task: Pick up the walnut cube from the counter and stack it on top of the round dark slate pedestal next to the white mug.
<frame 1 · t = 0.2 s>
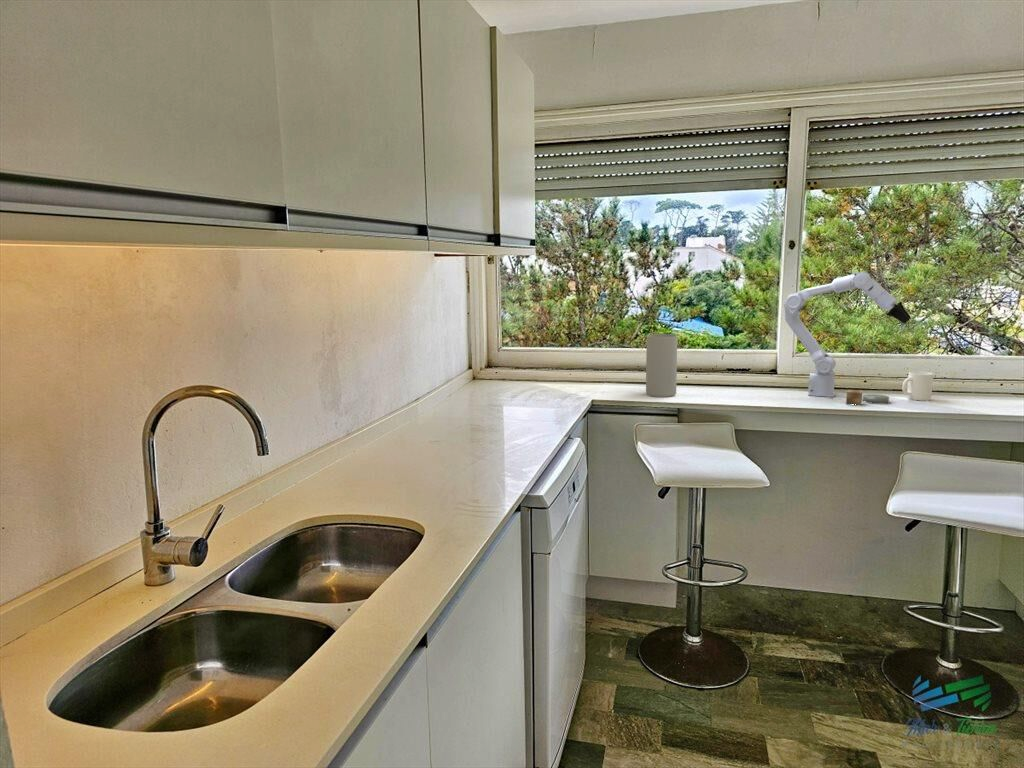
hand: (908, 320, 257), 31 cm above the worktop, tool tilted 45°, fingers open, 7 cm apart
slate pedestal: (875, 401, 262), on the worktop
walnut cube: (853, 404, 259), on the worktop
mug: (914, 399, 265), on the worktop
cylinder vase: (660, 395, 285), on the worktop
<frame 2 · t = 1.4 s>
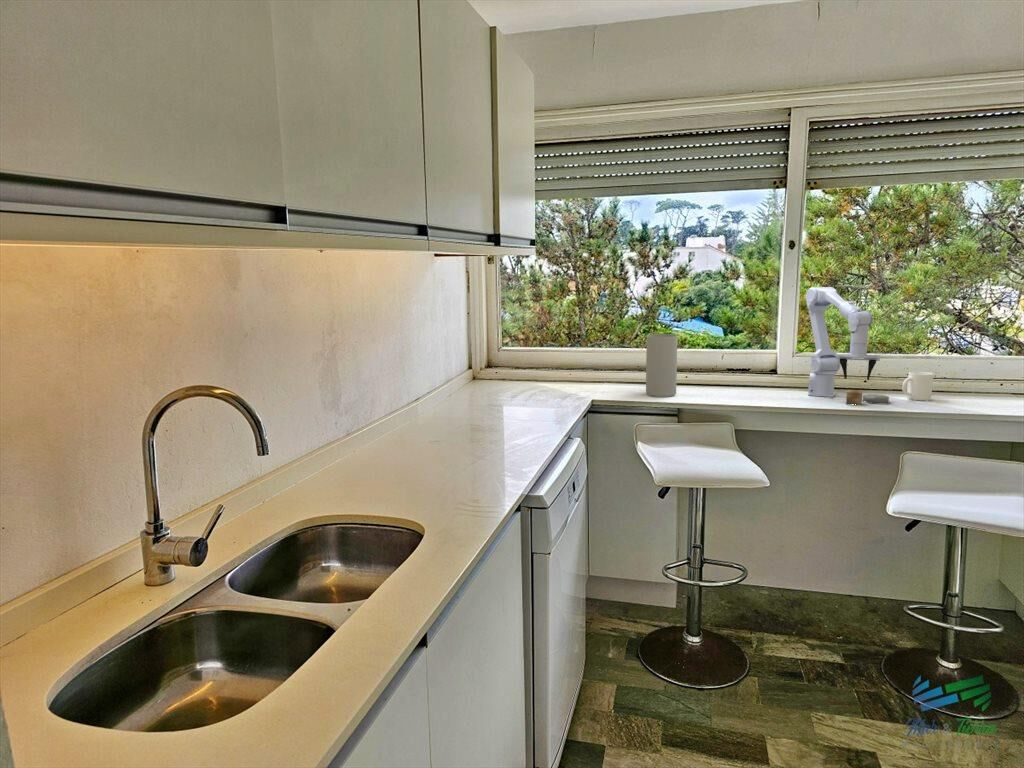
hand: (856, 379, 257), 10 cm above the worktop, tool pointing down, fingers open, 7 cm apart
nothing on the worktop moved.
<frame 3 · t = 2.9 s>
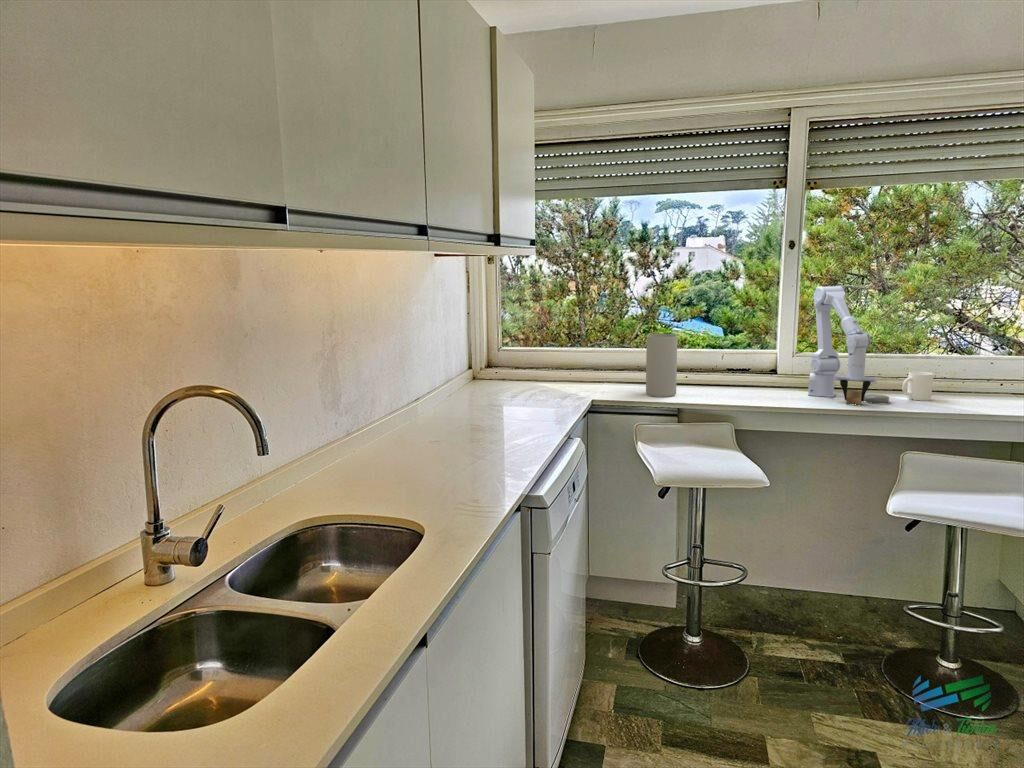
hand: (854, 400, 259), 1 cm above the worktop, tool pointing down, fingers closed on walnut cube, 5 cm apart
walnut cube: (853, 403, 259), on the worktop, touching gripper
everything else where it was.
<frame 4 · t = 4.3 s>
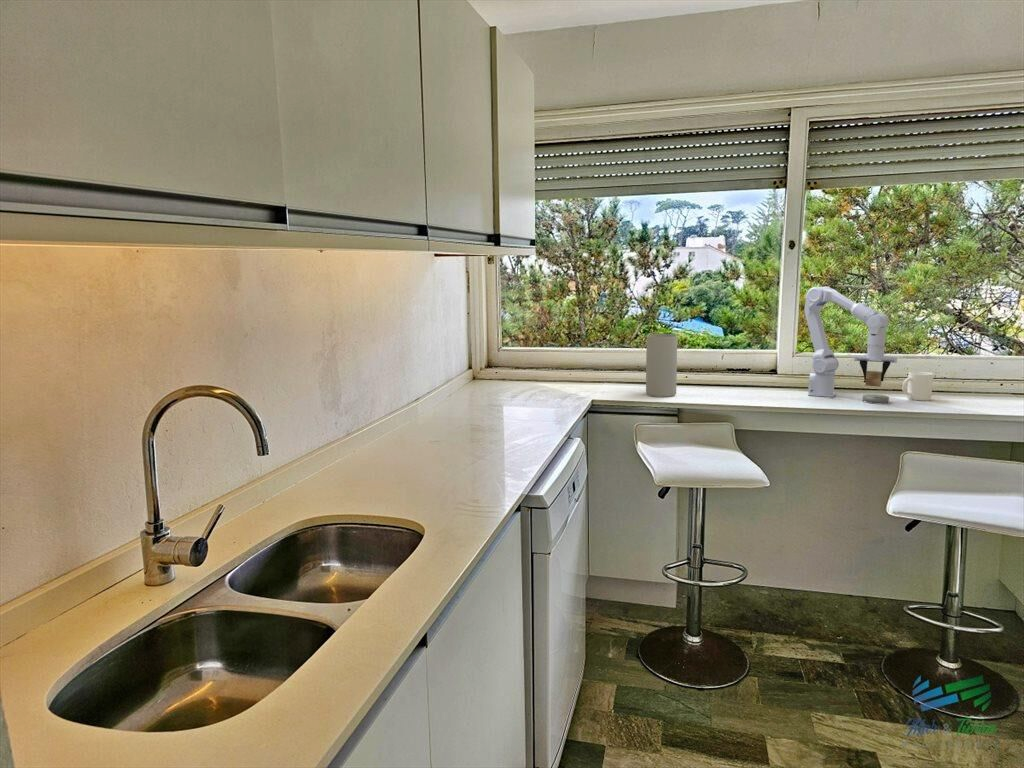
hand: (873, 380, 260), 8 cm above the worktop, tool pointing down, fingers closed on walnut cube, 5 cm apart
walnut cube: (873, 385, 260), point 7 cm above the worktop, touching gripper
everything else where it was.
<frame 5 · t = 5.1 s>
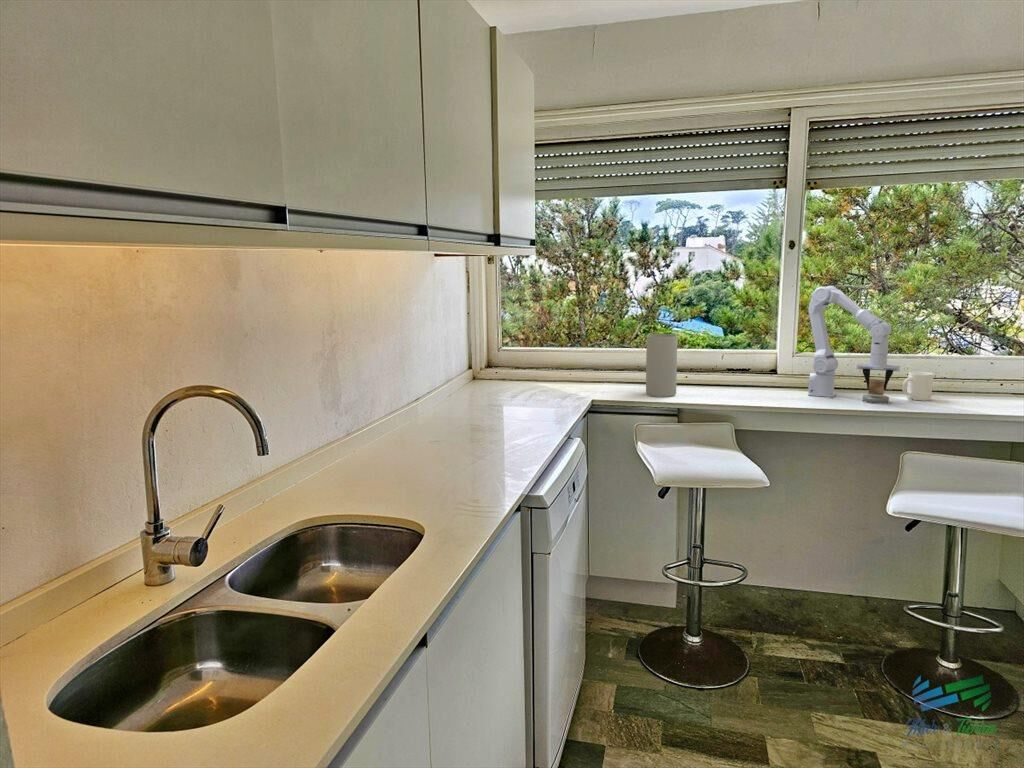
hand: (876, 388, 261), 5 cm above the worktop, tool pointing down, fingers closed on walnut cube, 5 cm apart
walnut cube: (876, 393, 261), point 3 cm above the worktop, touching gripper
everything else where it was.
when the fingers open (5 cm above the worktop, at t = 5.6 s): walnut cube drops 1 cm, resting on slate pedestal.
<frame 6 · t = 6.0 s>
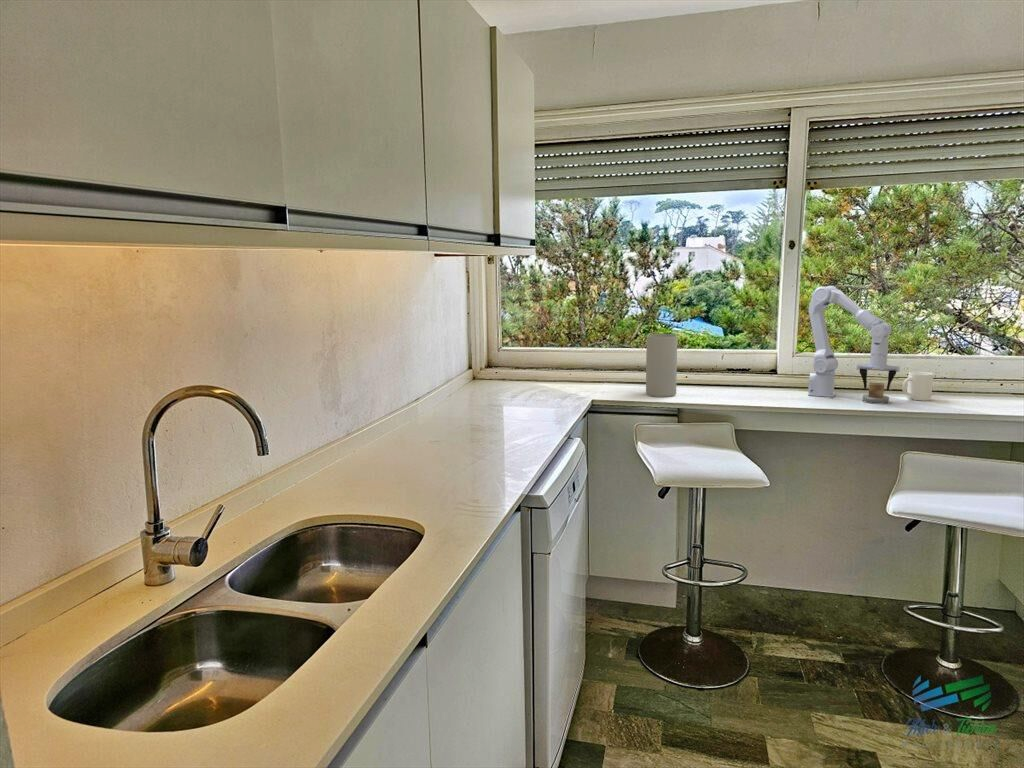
hand: (876, 389, 261), 5 cm above the worktop, tool pointing down, fingers open, 7 cm apart
walnut cube: (875, 396, 262), point 2 cm above the worktop, touching slate pedestal
everything else where it was.
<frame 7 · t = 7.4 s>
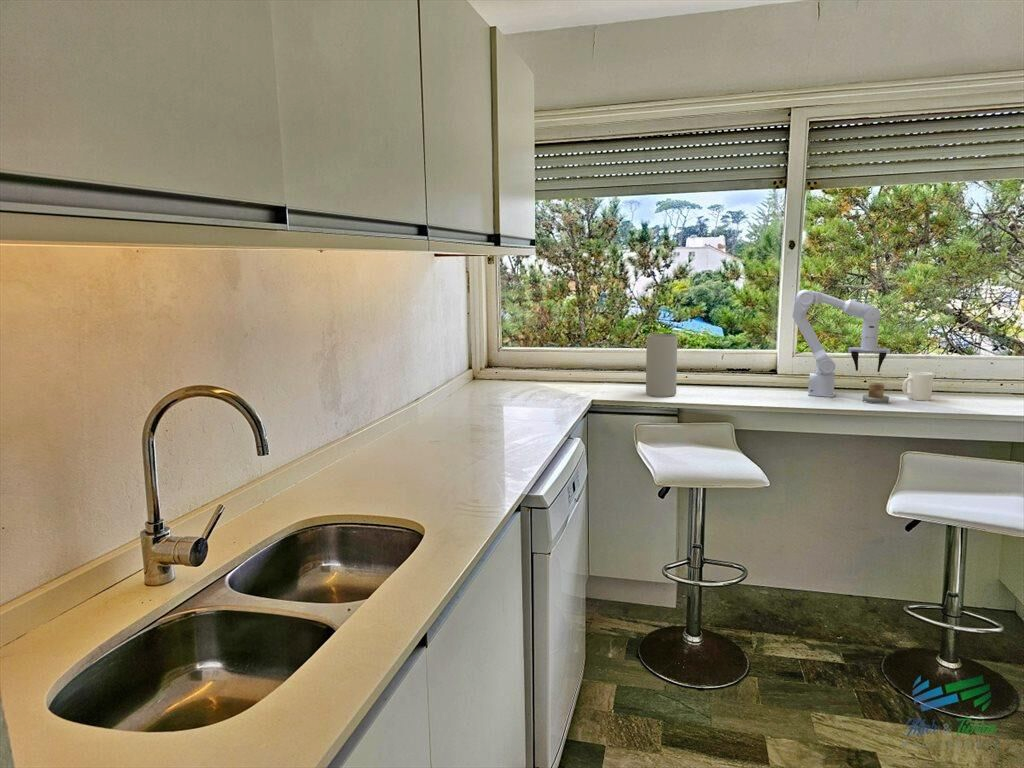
hand: (867, 371, 270), 10 cm above the worktop, tool pointing down, fingers open, 7 cm apart
nothing on the worktop moved.
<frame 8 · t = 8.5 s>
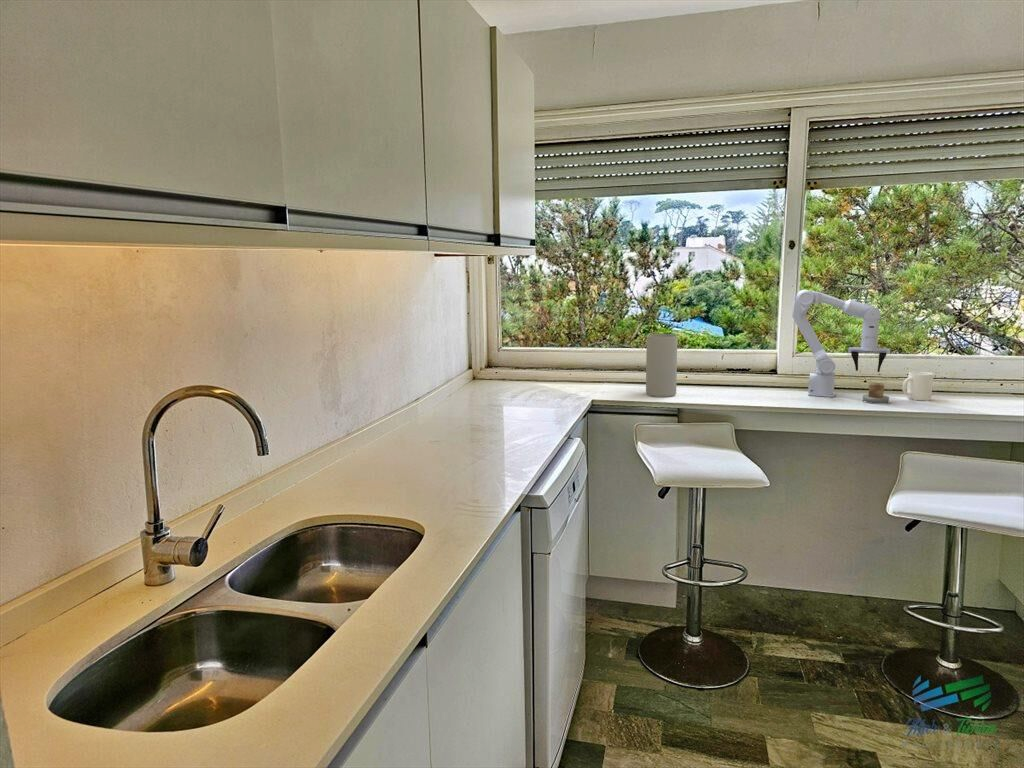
hand: (867, 371, 270), 10 cm above the worktop, tool pointing down, fingers open, 7 cm apart
nothing on the worktop moved.
at the end: walnut cube inside the target area on the slate pedestal (0.2 cm from its centre), point 2.0 cm above the slate pedestal's base; walnut cube tilted 0°; the gripper is holding nothing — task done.
